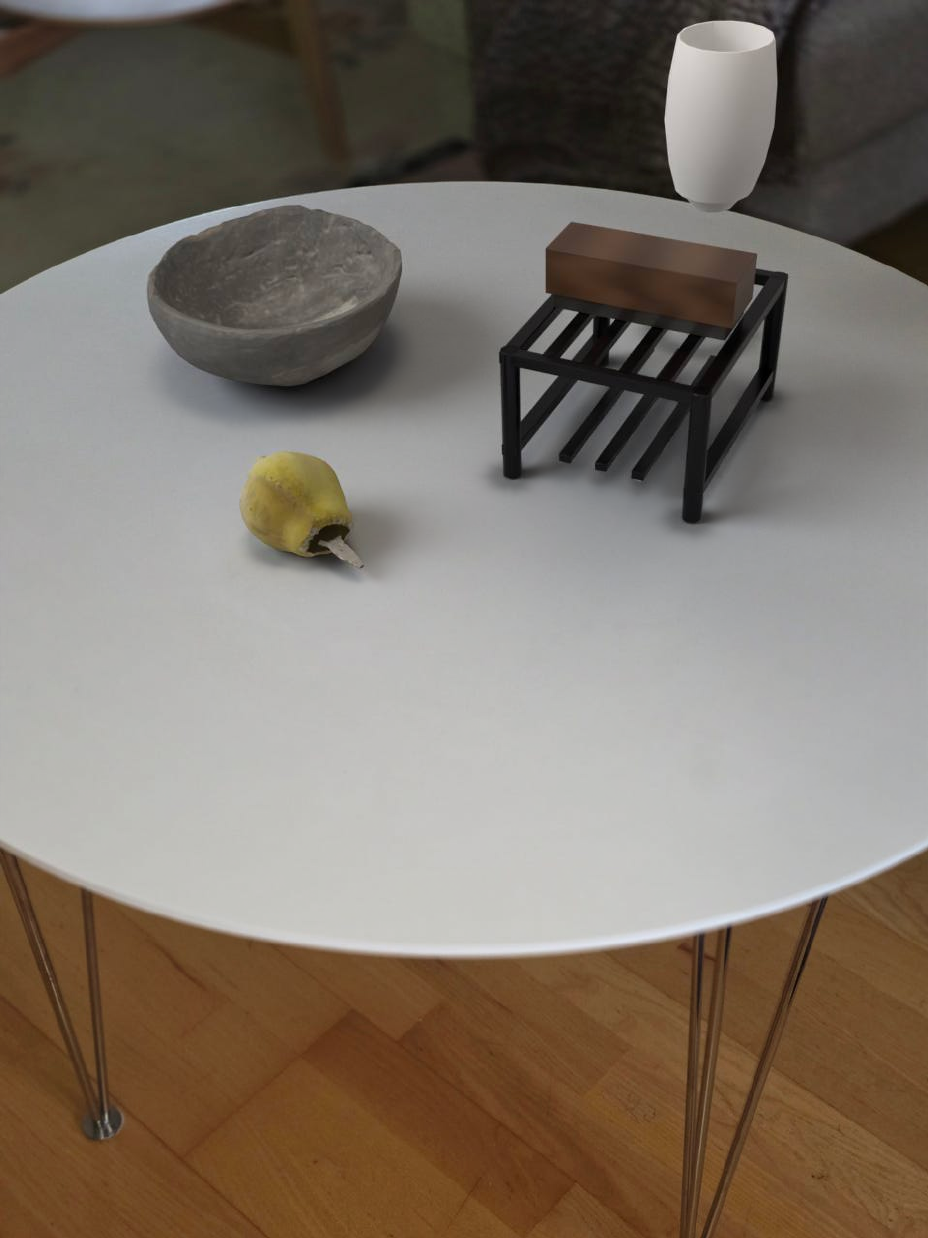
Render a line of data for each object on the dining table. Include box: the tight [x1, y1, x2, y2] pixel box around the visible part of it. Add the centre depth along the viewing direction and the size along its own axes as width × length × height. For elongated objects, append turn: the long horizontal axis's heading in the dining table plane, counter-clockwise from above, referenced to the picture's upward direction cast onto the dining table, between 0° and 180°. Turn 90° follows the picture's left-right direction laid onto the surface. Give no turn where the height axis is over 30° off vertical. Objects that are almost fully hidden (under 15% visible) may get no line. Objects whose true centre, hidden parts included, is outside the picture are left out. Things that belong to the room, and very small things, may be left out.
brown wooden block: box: [545, 221, 758, 342], centre depth 83 cm, size 12×4×4 cm, turn 64°
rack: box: [498, 267, 789, 524], centre depth 87 cm, size 13×16×9 cm
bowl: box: [146, 204, 403, 387], centre depth 97 cm, size 18×18×8 cm
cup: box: [664, 20, 778, 213], centre depth 94 cm, size 7×7×21 cm
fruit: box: [239, 450, 365, 569], centre depth 81 cm, size 6×6×10 cm
